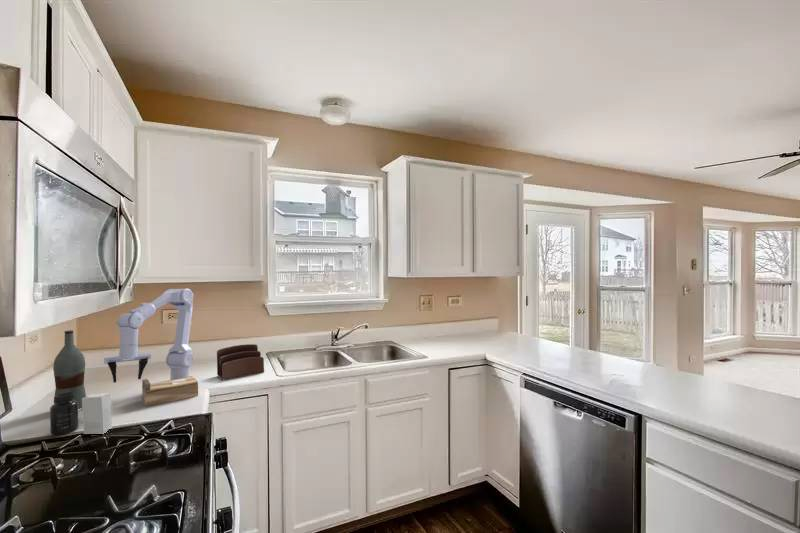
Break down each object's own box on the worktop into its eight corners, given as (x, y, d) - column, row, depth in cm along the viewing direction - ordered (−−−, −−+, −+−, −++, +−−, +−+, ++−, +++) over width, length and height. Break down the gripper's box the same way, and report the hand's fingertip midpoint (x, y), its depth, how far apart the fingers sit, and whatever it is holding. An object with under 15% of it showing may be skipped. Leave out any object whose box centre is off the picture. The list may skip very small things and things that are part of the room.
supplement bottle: (49, 431, 122) (49, 394, 122) (77, 425, 127) (77, 389, 127) (50, 438, 117) (50, 399, 117) (79, 431, 122) (78, 393, 122)
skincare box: (112, 429, 122) (111, 392, 122) (103, 435, 117) (102, 396, 118) (92, 431, 121) (91, 393, 122) (81, 437, 117) (81, 398, 117)
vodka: (46, 414, 138) (45, 333, 139) (67, 406, 147) (65, 329, 148) (73, 413, 139) (72, 332, 139) (92, 404, 148) (90, 328, 148)
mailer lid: (142, 386, 152) (141, 379, 152) (191, 377, 163) (191, 370, 163) (145, 392, 143) (145, 384, 143) (197, 382, 155) (197, 375, 155)
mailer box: (142, 399, 152) (142, 387, 152) (192, 389, 163) (191, 378, 163) (146, 406, 143) (145, 393, 143) (198, 395, 155) (198, 383, 155)
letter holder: (217, 376, 185) (216, 348, 185) (257, 369, 197) (257, 342, 197) (222, 380, 177) (221, 350, 177) (264, 372, 189) (263, 344, 190)
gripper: (105, 347, 137) (103, 385, 136) (152, 343, 146) (151, 379, 145) (104, 345, 142) (102, 382, 141) (150, 342, 152) (148, 376, 150)
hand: (127, 380), depth 143 cm, fingers open, 7 cm apart
